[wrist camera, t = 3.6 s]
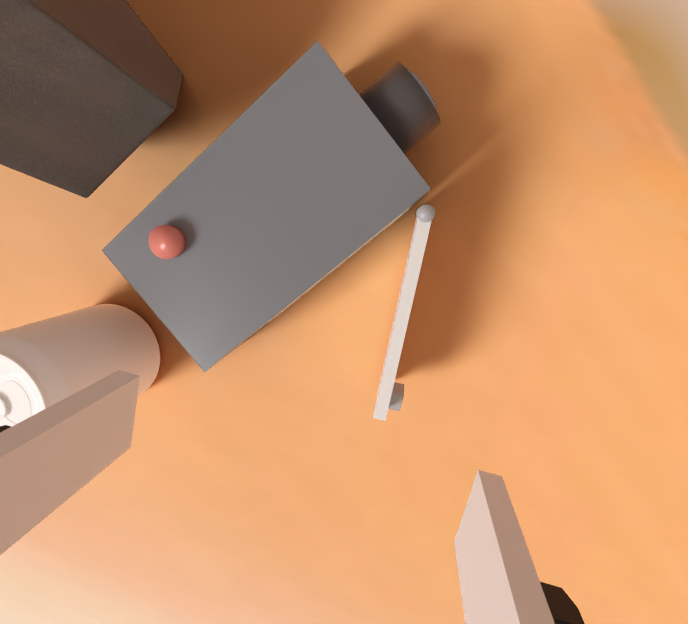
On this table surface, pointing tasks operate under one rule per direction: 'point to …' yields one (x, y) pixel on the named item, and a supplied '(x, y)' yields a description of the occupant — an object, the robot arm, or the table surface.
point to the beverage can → (72, 357)
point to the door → (402, 316)
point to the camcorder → (276, 203)
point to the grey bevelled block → (79, 89)
